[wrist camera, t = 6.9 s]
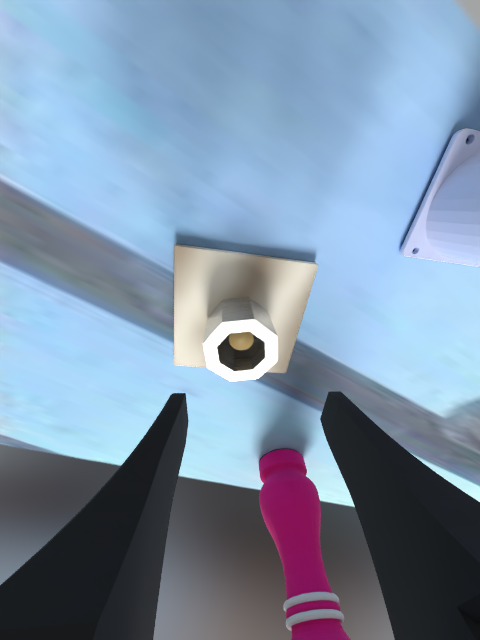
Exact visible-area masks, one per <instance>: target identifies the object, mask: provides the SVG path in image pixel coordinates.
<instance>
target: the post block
mask: <svg viewBox="0 0 480 640" xmlns="http://www.w3.org/2000/svg"><path fill="white" fill-rule="evenodd" d="M317 268H318V264H316V263H315V262H308V261H300V260H293V259H286V258H278V257H271V256H263V255H256V254H248V253H241V252H233V251H226V250H218V249H211V248H204V247H196V246H189V245H181V244H176V245H175V246H174V365H177V366H191V367H205V368H208V367H207V362H206V357H205V352H204V347H203V340H204V334H205V328H206V322H207V317H208V316H209V315H210V314H211V313H212V312H213V310H214V309H215V308H216V307H217V306H218V304H219V303H220V302H221V301H222V300H223V299H232V298H241V297H250V298H251V299H253V300H254V301H255V302H256V303H258V304H259V305H260V306H262V307H263V308H264V309H265V310H267V311H268V313H269V316H270V318H271V321H272V323H273V326H274V328H275V331H276V333H277V336H278V361H277V362H276V363H275V364H274V365H273V366H271V367H270V368H269V369H268V370H267V371H266V372H274V373H286V370H287V367H288V364H289V361H290V357H291V354H292V351H293V347H294V344H295V341H296V337H297V334H298V331H299V328H300V324H301V321H302V318H303V314H304V311H305V308H306V304H307V301H308V298H309V295H310V291H311V288H312V285H313V281H314V278H315V275H316V271H317ZM253 335H254V334H253V333H251V332H250V331H248V332H239V333H229V334H228V335H227V336H226V337H225V338H227V339H228V340H229V342H230V345H231V346H232V347H233V348H234V349H237V350H245V349H248V348H249V347H250V346H251V345H252V344H253V341H254V338H253Z"/></svg>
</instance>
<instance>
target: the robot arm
mask: <svg viewBox="0 0 480 640" xmlns="http://www.w3.org/2000/svg"><path fill="white" fill-rule="evenodd" d="M467 137H468V138H469V140H468V142H467V144H466V139H467ZM414 248H415V251H414V252H413V253H412V251H413V249H414ZM400 253H401V255H403V256H407V257H414V258H421V259H428V260H435V261H442V262H448V263H455V264H462V265H469V266H476V267H480V131H478V130H473V129H469V128H464V129H461V130H459V131H457V132H456V133H455V134H454V135H453V137H452V138H451V140H450V143H449V145H448V147H447V149H446V151H445V153H444V156H443V158H442V160H441V162H440V164H439V167H438V169H437V171H436V173H435V175H434V177H433V180H432V182H431V184H430V186H429V188H428V191H427V193H426V195H425V197H424V199H423V201H422V204H421V206H420V208H419V210H418V212H417V215H416V217H415V219H414V221H413V223H412V225H411V228H410V230H409V232H408V234H407V236H406V239H405V241H404V243H403V245H402V247H401V250H400ZM320 420H321V423H322V426H323V430H324V433H325V436H326V439H327V442H328V444H329V446H330V449H331V451H332V453H333V456H334V458H335V460H336V463H337V465H338V467H339V469H340V472H341V474H342V476H343V478H344V481H345V483H346V485H347V487H348V490H349V492H350V495H351V497H352V500H353V502H354V505H355V508H356V511H357V514H358V517H359V520H360V522H361V525H362V528H363V531H364V535H365V538H366V541H367V544H368V547H369V550H370V553H371V556H372V560H373V563H374V566H375V570H376V573H377V576H378V580H379V583H380V586H381V590H382V593H383V597H384V600H385V604H386V608H387V611H388V615H389V619H390V622H391V626H392V630H393V634H394V638H395V640H480V502H478V501H477V500H475V499H474V498H472V497H471V496H469V495H468V494H466V493H465V492H463V491H462V490H460V489H459V488H457V487H456V486H454V485H453V484H451V483H450V482H448V481H447V480H445V479H444V478H443V477H441V476H440V475H438V474H437V473H436V472H434V471H433V470H431V469H430V468H429V467H427V466H426V465H425V464H423V463H422V462H421V461H419V460H418V459H417V458H416V457H414V456H413V455H412V454H410V453H409V452H408V451H407V450H405V449H404V448H403V447H402V446H401V445H399V444H398V443H397V442H396V441H395V440H393V439H392V438H391V437H390V436H389V435H387V434H386V433H385V432H384V431H383V430H382V429H381V428H379V427H378V426H377V425H376V424H375V423H374V422H373V421H372V420H371V419H369V418H368V417H367V416H366V415H365V414H364V413H363V412H362V411H361V410H360V409H359V408H358V407H357V406H356V405H354V404H353V403H352V402H351V401H350V400H349V399H348V398H347V397H346V396H345V395H344V394H343V393H341V392H329V393H328V396H327V399H326V402H325V406H324V409H323V412H322V415H321V418H320ZM187 428H188V414H187V404H186V394H185V393H173V394H172V395H170V397H169V399H168V401H167V403H166V404H165V406H164V408H163V409H162V411H161V412H160V414H159V415H158V417H157V419H156V420H155V422H154V423H153V424H152V426H151V427H150V429H149V430H148V432H147V433H146V435H145V436H144V437H143V439H142V440H141V441H140V443H139V444H138V445H137V447H136V448H135V449H134V451H133V452H132V453H131V454H130V456H129V457H128V458H127V459H126V461H125V462H124V463H123V464H122V466H121V467H120V468H119V469H118V470H117V472H116V473H115V474H114V475H113V476H112V477H111V478H110V480H109V481H108V482H107V483H106V484H105V485H104V486H103V487H102V488H101V490H100V491H99V492H98V493H97V494H96V495H95V496H94V497H93V498H92V499H91V500H90V501H89V502H88V504H86V506H85V507H84V508H83V509H82V510H81V511H80V512H79V513H78V514H77V515H76V516H75V517H73V518H72V519H71V520H70V521H69V523H67V524H66V525H65V526H64V527H63V528H62V529H61V530H60V531H59V532H58V533H57V534H56V535H55V536H54V537H53V538H52V539H51V540H50V541H49V542H48V543H47V544H46V545H45V546H44V547H42V548H41V549H40V550H39V551H38V552H37V553H36V554H35V555H34V556H32V557H31V559H29V560H28V561H27V562H26V563H25V564H24V565H23V566H22V567H20V568H19V569H18V570H17V571H16V572H15V573H14V574H13V575H12V576H10V578H8V579H7V580H6V581H5V582H4V583H3V584H1V585H0V640H153V635H154V627H155V619H156V611H157V603H158V596H159V588H160V580H161V573H162V566H163V558H164V552H165V544H166V538H167V531H168V524H169V518H170V511H171V506H172V501H173V496H174V491H175V487H176V483H177V479H178V474H179V470H180V466H181V461H182V457H183V453H184V448H185V444H186V436H187Z"/></svg>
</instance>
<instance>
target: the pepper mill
mask: <svg viewBox="0 0 480 640" xmlns="http://www.w3.org/2000/svg"><path fill="white" fill-rule="evenodd" d="M259 471H260V478H261V481H262V482H263V483H264V484H263V486H262V488H261V491H260V495H259V502H260V507H261V512H262V515H263V518H264V521H265V523H266V526H267V527H268V530H269V531H270V534H271V535H272V537H273V539H274V542H275V544H276V546H277V549H278V551H279V554H280V557H281V561H282V564H283V569H284V574H285V581H286V591H287V601H286V602H285V603H284V610H285V612H286V617H287V620H286V626H287V628H288V629H289V630H291V631H292V640H350V638H349V637H348V636H347V634H346V633H345V632H344V630H343V628H342V626H341V623H342V622H343V621H344V616H343V614H342V613H341V612H340V606H339V605H338V604H339V598H338V597H337V596H336V595H335V594H333V593H332V591H331V588H330V585H329V582H328V579H327V577H326V573H325V569H324V565H323V561H322V557H321V548H320V520H321V508H320V500H319V496H318V492H317V489H316V487H315V485H314V484H313V482H312V481H311V480H310V479H309V478H307V477H306V473H307V469H306V466H305V463H304V459H303V457H302V455H301V454H300V453H299V452H297V451H295V450H291V449H279V450H274V451H271V452H269V453H267V454H266V455H264V456H263V457H262V458H261V460H260V462H259Z"/></svg>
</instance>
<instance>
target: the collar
mask: <svg viewBox="0 0 480 640" xmlns="http://www.w3.org/2000/svg"><path fill="white" fill-rule="evenodd" d="M248 331H250V332H251V333H253V334H254V335H253V338H254V341H253V344H252V345H251V346H250V347H249V348H248V349H245V350H237V349H234V348H233V347H232V346H231V345H230V342H229V340H228V339H227V338H225V337H226V336H227V335H228V334H229V333H239V332H248ZM203 347H204V352H205V357H206V362H207V367H208V369H210V370H212V371H213V372H215V373H217V374H219V375H220V376H222V377H224V378H226V379H227V380H229V381H239V380H249V379H258V378H259V377H260V376H262V375H263V374H264V373H265V372H266V371H267V370H268V369H269V368H270V367H271V366H273V365H274V364H275V363H276V362H277V361H278V336H277V333H276V331H275V328H274V326H273V323H272V321H271V318H270V316H269V313H268V311H267V310H265V309H264V308H263V307H262V306H260V305H259V304H258V303H256V302H255V301H254V300H253V299H251V298H250V297H241V298H232V299H223V300H222V301H221V302H220V303H219V304H218V306H217V307H216V308H215V309H214V310H213V312H212V313H211V314H210V315H209V316H208V317H207V322H206V328H205V334H204V340H203Z"/></svg>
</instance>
